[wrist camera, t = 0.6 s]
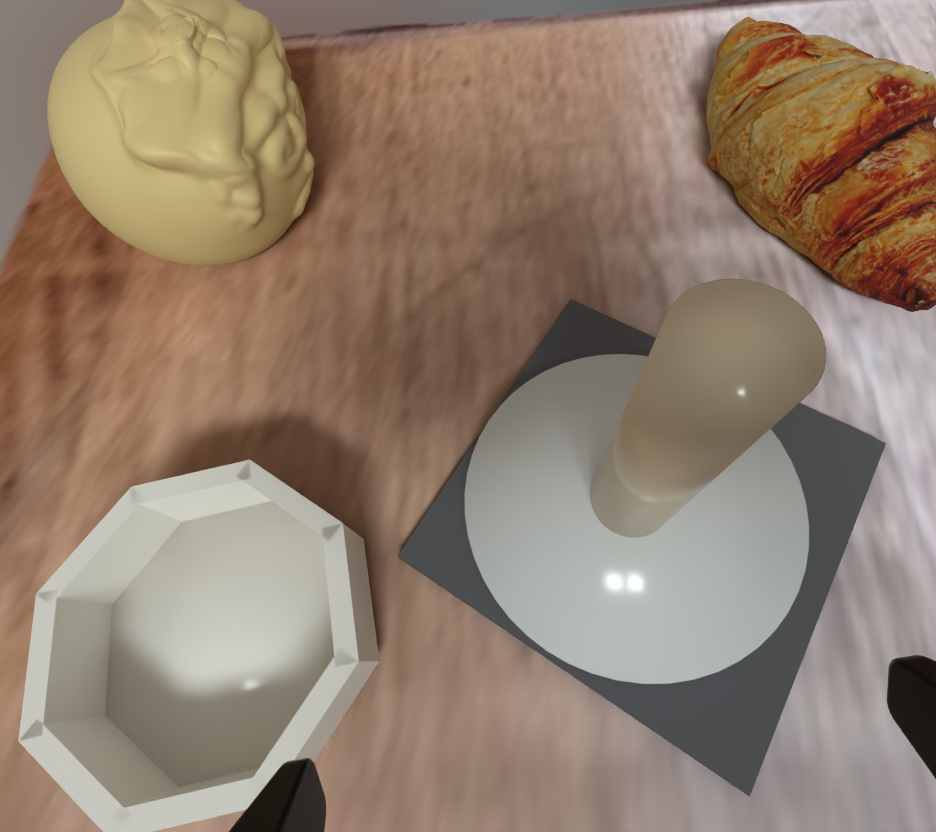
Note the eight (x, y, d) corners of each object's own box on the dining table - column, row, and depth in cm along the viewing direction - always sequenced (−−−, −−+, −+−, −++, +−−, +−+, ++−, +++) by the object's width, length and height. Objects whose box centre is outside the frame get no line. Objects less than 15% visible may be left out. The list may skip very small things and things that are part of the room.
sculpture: (323, 291, 29) (225, 106, 19) (114, 297, 30) (-78, 124, 20) (348, 142, 34) (279, -68, 24) (166, 151, 35) (30, -46, 25)
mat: (880, 446, 23) (885, 443, 23) (745, 793, 19) (749, 796, 18) (570, 304, 28) (570, 299, 27) (399, 557, 23) (397, 556, 23)
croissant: (666, 119, 37) (633, 20, 31) (825, 17, 33) (824, -122, 27) (818, 378, 28) (815, 314, 22) (1063, 281, 24) (1150, 166, 18)
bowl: (431, 585, 22) (416, 573, 19) (244, 876, 19) (187, 922, 16) (232, 449, 26) (191, 419, 22) (42, 675, 22) (-40, 679, 19)
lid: (846, 452, 23) (1189, 239, 11) (717, 766, 19) (1048, 947, 7) (562, 318, 27) (598, 57, 15) (404, 554, 23) (284, 445, 11)
